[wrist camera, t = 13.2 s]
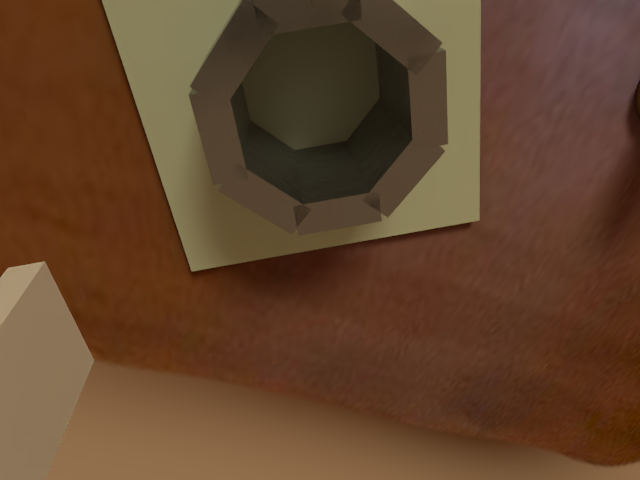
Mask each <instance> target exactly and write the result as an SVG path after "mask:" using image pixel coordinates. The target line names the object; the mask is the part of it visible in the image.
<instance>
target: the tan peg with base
mask: <svg viewBox="0 0 640 480" xmlns="http://www.w3.org/2000/svg"><path fill="white" fill-rule="evenodd" d="M635 102H636V110H637V113H638V115H639V117H640V82H639V85H638V88H637V92H636V99H635Z"/></svg>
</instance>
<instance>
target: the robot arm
mask: <svg viewBox="0 0 640 480" xmlns="http://www.w3.org/2000/svg"><path fill="white" fill-rule="evenodd" d="M93 362H94V359H93V357H92V355H91V353H90V351H89V349H88V347H87V345H86V343H85V341H84V339H83V337H82V335H81V333H80V331H79V329H78V327H77V325H76V323H75V321H74V319H73V317H72V315H71V313H70V311H69V309H68V307H67V305H66V303H65V301H64V299H63V297H62V295H61V293H60V291H59V289H58V287H57V285H56V283H55V281H54V279H53V277H52V275H51V273H50V271H49V269H48V267H47V265H46V263H45V262H39V263H33V264H28V265H22V266H17V267H11V268H8V269H7V270H6V271H5V272H4V274H3V275H2V276H1V277H0V480H46V478H47V475H48V473H49V470H50V468H51V465H52V462H53V460H54V458H55V455H56V453H57V450H58V448H59V445H60V443H61V441H62V438H63V436H64V433H65V431H66V428H67V426H68V423H69V421H70V418H71V415H72V413H73V411H74V408H75V406H76V404H77V401H78V398H79V396H80V394H81V391H82V389H83V386H84V384H85V381H86V379H87V376H88V374H89V371H90V369H91V366H92V364H93Z"/></svg>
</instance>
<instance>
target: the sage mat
mask: <svg viewBox="0 0 640 480" xmlns="http://www.w3.org/2000/svg"><path fill="white" fill-rule="evenodd" d="M239 1H240V0H102V2H103V5H104V8H105V12H106V15H107V18H108V21H109V24H110V27H111V30H112V33H113V36H114V39H115V42H116V45H117V48H118V51H119V54H120V57H121V60H122V63H123V66H124V69H125V72H126V75H127V78H128V81H129V84H130V87H131V90H132V93H133V96H134V99H135V102H136V105H137V108H138V111H139V114H140V117H141V120H142V123H143V126H144V129H145V132H146V135H147V138H148V141H149V144H150V147H151V150H152V154H153V157H154V160H155V163H156V166H157V169H158V172H159V175H160V178H161V181H162V184H163V187H164V190H165V193H166V196H167V199H168V202H169V205H170V208H171V211H172V214H173V217H174V220H175V223H176V226H177V229H178V232H179V235H180V238H181V241H182V244H183V247H184V250H185V253H186V256H187V259H188V262H189V265H190V268H191V271H198V270H203V269H209V268H215V267H220V266H226V265H231V264H237V263H243V262H248V261H254V260H260V259H265V258H271V257H277V256H282V255H288V254H293V253H299V252H305V251H310V250H316V249H322V248H327V247H333V246H338V245H344V244H350V243H355V242H361V241H367V240H372V239H378V238H383V237H389V236H395V235H400V234H406V233H412V232H417V231H423V230H428V229H434V228H440V227H445V226H451V225H457V224H462V223H468V222H473V221H479V199H480V49H481V0H394V1H395V2H396V3H397V4H398V5H399V6H401V7H402V8H403V9H404V10H405V11H406V12H407V13H409V14H410V15H411V16H412V17H413V18H414V19H416V20H417V21H418V22H419V23H420V24H421V25H422V26H424V27H425V28H426V29H427V30H428V31H429V32H431V33H432V34H433V35H434V36H435V37H436V38H437V39H439V40H440V41H441V42H442V44H441V46H440V47H441V48H443V49H444V50H446V75H447V118H448V144H446V145H441V147H442V148H443V149H444V150H445V152H444V154H443V155H442V156H441V157H440V158H439V159H438V160H437V162H436V163H435V164H434V165H433V166H432V167H431V169H430V170H429V171H428V172H427V173H426V174H425V176H424V177H423V178H422V179H421V180H420V181H419V182H418V184H417V185H416V186H415V187H414V188H413V189H412V191H411V192H410V193H409V194H408V195H407V196H406V198H405V199H404V200H403V201H402V202H401V203H400V205H399V206H398V207H397V208H396V209H395V210H394V211H393V213H392V214H391V215H390V216H389V217H386V216H385V215H383V214H382V213H381V217H382V221H381V222H375V223H369V224H364V225H358V226H352V227H347V228H341V229H335V230H329V231H324V232H318V233H312V234H307V235H301V236H299V235H298V230H297V229H296V230H295V231H294V232H293V234H292V235H291V234H290V233H288V232H286V231H285V230H283V229H281V228H280V227H278V226H276V225H275V224H273V223H271V222H269V221H268V220H266V219H264V218H263V217H261V216H259V215H258V214H256V213H254V212H253V211H251V210H249V209H248V208H246V207H244V206H242V205H241V204H239V203H237V202H236V201H234V200H232V199H231V198H229V197H227V196H226V195H224V194H222V193H221V192H219V191H218V188H219V184H217V185H213V182H212V178H211V175H210V171H209V168H208V164H207V160H206V157H205V153H204V149H203V146H202V142H201V138H200V135H199V131H198V127H197V124H196V120H195V117H194V113H193V109H192V106H191V102H190V98H189V93H190V91H191V89H192V88H191V87H190V85H191V83H192V81H193V79H194V78H195V76H196V74H197V72H198V70H199V68H200V67H201V65H202V63H203V61H204V59H205V57H206V55H207V54H208V52H209V50H210V49H211V47H212V45H213V44H214V42H215V40H216V39H217V37H218V36H219V34H220V32H221V31H222V29H223V27H224V26H225V24H226V22H227V21H228V19H229V17H230V16H231V14H232V12H233V11H234V9H235V8H236V6H237V4H238V3H239ZM242 84H243V89H244V94H245V98H246V103H247V107H248V112H249V116H250V120H251V121H252V122H254V123H255V124H257V125H258V126H260V127H261V128H263V129H264V130H266V131H267V132H269V133H270V134H272V135H273V136H275V137H276V138H278V139H279V140H281V141H282V142H284V143H285V144H287V145H288V146H290V147H291V148H293V149H294V150H297V149H303V148H309V147H314V146H320V145H326V144H332V143H337V142H343V141H347V140H348V138H349V137H350V136H351V135H352V133H353V132H354V131H355V129H356V128H357V127H358V125H359V124H360V123H361V122H362V120H363V119H364V118H365V116H366V115H367V114H368V112H369V111H370V110H371V109H372V107H373V106H374V105H375V103H376V102H377V101H378V99H379V98H380V94H379V83H378V72H377V60H376V49H375V42H374V41H373V40H372V39H371V38H369V37H368V36H367V35H366V34H365V33H363V32H362V31H361V30H360V29H358V28H357V27H356V26H355V25H353V24H352V23H351V22H345V23H339V24H333V25H327V26H322V27H316V28H310V29H304V30H298V31H292V32H287V33H281V34H275V35H272V36H271V38H270V39H269V41H268V42H267V44H266V45H265V47H264V48H263V50H262V51H261V53H260V54H259V56H258V58H257V59H256V61H255V62H254V64H253V65H252V67H251V68H250V70H249V71H248V73H247V74H246V76H245V78H244V79H243V81H242Z"/></svg>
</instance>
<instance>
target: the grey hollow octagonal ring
mask: <svg viewBox="0 0 640 480" xmlns="http://www.w3.org/2000/svg"><path fill="white" fill-rule="evenodd" d="M345 22H351V23H352V24H353V25H355V26H356V27H357V28H358V29H360V30H361V31H362V32H363V33H365V34H366V35H367V36H368V37H369V38H371V39H372V40H373V41H374V42H375V49H376V60H377V72H378V83H379V94H380V98H379V99H378V101H377V102H376V103H375V105H374V106H373V107H372V109H371V110H370V111H369V112H368V114H367V115H366V116H365V118H364V119H363V120H362V122H361V123H360V124H359V125H358V127H357V128H356V129H355V131H354V132H353V133H352V135H351V136H350V137H349V138H348V140H347V141H343V142H337V143H332V144H326V145H320V146H314V147H309V148H303V149H297V150H294V149H293V148H291V147H290V146H288V145H287V144H285V143H284V142H282V141H281V140H279V139H278V138H276V137H275V136H273V135H272V134H270V133H269V132H267V131H266V130H264V129H263V128H261V127H260V126H258V125H257V124H255V123H254V122H252V121H251V120H250V116H249V112H248V107H247V103H246V98H245V94H244V89H243V84H242V81H243V79H244V78H245V76H246V74H247V73H248V71H249V70H250V68H251V67H252V65H253V64H254V62H255V61H256V59H257V58H258V56H259V54H260V53H261V51H262V50H263V48H264V47H265V45H266V44H267V42H268V41H269V39H270V38H271V36H272V35H275V34H281V33H287V32H292V31H298V30H304V29H310V28H316V27H322V26H327V25H333V24H339V23H345ZM441 44H442V42H441V41H440V40H439V39H437V38H436V37H435V36H434V35H433V34H432V33H431V32H429V31H428V30H427V29H426V28H425V27H424V26H422V25H421V24H420V23H419V22H418V21H417V20H416V19H414V18H413V17H412V16H411V15H410V14H409V13H407V12H406V11H405V10H404V9H403V8H402V7H401V6H399V5H398V4H397V3H396V2H395V1H394V0H240V1H239V3H238V4H237V6H236V8H235V9H234V11H233V12H232V14H231V16H230V17H229V19H228V21H227V22H226V24H225V26H224V27H223V29H222V31H221V32H220V34H219V36H218V37H217V39H216V40H215V42H214V44H213V45H212V47H211V49H210V50H209V52H208V54H207V55H206V57H205V59H204V61H203V63H202V65H201V67H200V68H199V70H198V72H197V74H196V76H195V78H194V79H193V81H192V83H191V85H190V87H191V88H192V89H191V91H190V93H189V98H190V102H191V106H192V109H193V113H194V117H195V120H196V124H197V127H198V131H199V135H200V138H201V142H202V146H203V149H204V153H205V157H206V160H207V164H208V168H209V171H210V175H211V178H212V182H213V185H217V184H219V188H218V191H219V192H221V193H222V194H224V195H226V196H227V197H229V198H231V199H232V200H234V201H236V202H237V203H239V204H241V205H242V206H244V207H246V208H248V209H249V210H251V211H253V212H254V213H256V214H258V215H259V216H261V217H263V218H264V219H266V220H268V221H269V222H271V223H273V224H275V225H276V226H278V227H280V228H281V229H283V230H285V231H286V232H288V233H290V234H291V235H292V234H293V232H294V231H295V230H296V229H297V230H298V235H299V236H301V235H307V234H312V233H318V232H324V231H329V230H335V229H341V228H347V227H352V226H358V225H364V224H369V223H375V222H381V221H382V217H381V213H382V214H383V215H385V216H386V217H389V216H390V215H391V214H392V213H393V211H394V210H395V209H396V208H397V207H398V206H399V205H400V203H401V202H402V201H403V200H404V199H405V198H406V196H407V195H408V194H409V193H410V192H411V191H412V189H413V188H414V187H415V186H416V185H417V184H418V182H419V181H420V180H421V179H422V178H423V177H424V176H425V174H426V173H427V172H428V171H429V170H430V169H431V167H432V166H433V165H434V164H435V163H436V162H437V160H438V159H439V158H440V157H441V156H442V155H443V154H444V152H445V150H444V149H443V148H442V147H441V145H446V144H448V118H447V75H446V50H444V49H443V48H441V47H440V46H441Z"/></svg>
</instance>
